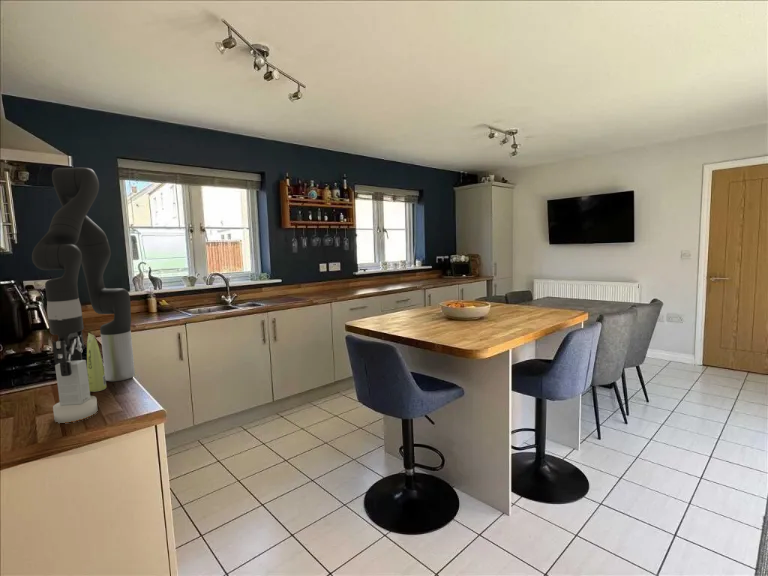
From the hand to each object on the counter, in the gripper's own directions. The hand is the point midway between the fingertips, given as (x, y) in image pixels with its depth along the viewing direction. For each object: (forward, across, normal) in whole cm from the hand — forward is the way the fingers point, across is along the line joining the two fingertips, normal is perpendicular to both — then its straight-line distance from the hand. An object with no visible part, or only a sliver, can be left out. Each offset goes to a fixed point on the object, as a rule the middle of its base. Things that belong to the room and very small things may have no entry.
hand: (72, 370), depth 115 cm
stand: (+14, 0, 0) cm, 14 cm away
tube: (+14, -22, -1) cm, 26 cm away
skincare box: (+10, 0, 0) cm, 10 cm away
